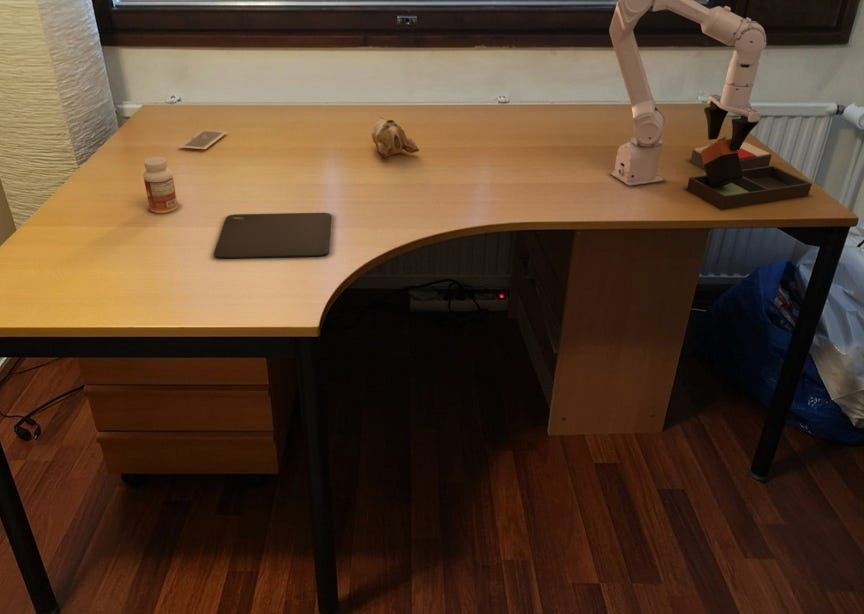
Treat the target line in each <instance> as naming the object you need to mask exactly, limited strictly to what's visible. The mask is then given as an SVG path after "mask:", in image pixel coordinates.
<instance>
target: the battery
mask: <svg viewBox="0 0 864 614" xmlns="http://www.w3.org/2000/svg"><path fill="white" fill-rule="evenodd" d="M731 139H732V138H729V139H727V136H721V137H718V138H717V139H715V140H716V141H715V142H713V143H709V144H708V145H707V146H708V147H707V148H705V149H703V150H702V151H701V155H702V159H703V163H704V167H705V169H704V170H705V171H704V172H705V175H706V176H707V180H708V184H709V187H710V188H715V187H722V186H725V185H727V184H730V183H732V182H734V181H736V180H738V179H740V178H742V177H743V172H742V168H741V164H740V160H739V156H738V152H737V150H734V151H732V150H730V143H731Z"/></svg>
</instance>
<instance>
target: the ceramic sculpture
mask: <svg viewBox="0 0 864 614" xmlns="http://www.w3.org/2000/svg"><path fill="white" fill-rule="evenodd" d="M371 139H372V140H373V143H374V144H375V146H376V149H377V152H378V154H379V155H380V156H381V157H383V158H386V157H389V156H390V155H395V154H400V153H401V152H402V151H403V150H404V151H405V152H406V153H418V152H420V149H419V148H418V146H417V144H416V141H414V140H413V139H412V138H410V137H407V134H406V133H405V130H404V129H403V128H402V127H401V126H400V125H398V123H397V122H396V121H395V120H393V119H389V120H388V119H386V118H384V117H383V116H380V117H379V120H378V121H376V123H375V125H374V127H373V131H372V133H371Z"/></svg>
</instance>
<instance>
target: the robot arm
mask: <svg viewBox="0 0 864 614" xmlns="http://www.w3.org/2000/svg"><path fill="white" fill-rule="evenodd" d="M651 7H652V9H651V11H652V12H658V11H663V10H668V11H671V12H673V13H675V14H677V15H679V16H681V17H684V18H686V19H688V20H690V21H692V22H695V23H697V24H700V27H701V32H702V33H703V34H704V35H706V36H708V37H710V38H712V39H714V40H716V41H718V42H720V43H722V44H724V45H727V46H733V47H734V49H733V53H732V58H731V59H730V61H729V65H728V69H727V73H726V78H725V82H724V84H723V89H722V93H721V95H718V94H709V95H708V98H707V102H706V104H707V105H709V106H707V107H704V110H703V112H704V114H705V118H706V123H707V140H709V141H711V140H713V141H714V140H717V139H718V138H719V136H720V133H721V130H722V127H723V124H724V121H725V119H726V117H727V115H728V114H729V113H730V114H733V115H736V116H738V118H732V119H731V128H732V131H731V138H730V139H731V143H730V150H732V151H734V150H739V149H740V147H741V145H742V144H743V142H745V140H746V138H747V137H748V135H750V133H751V132H752V130H753V129H754V128H755V127H757V125H758V124H759V119H760V114H761V112H760V111H758V110H756V109H755V108H754V107H753V106H751V105H752V103H751V102H750V98H751V94H752V91H753V86H754V83H755V79H756V76H757V73H758V68H759V64H760V62H759V61H760V59H761V55H762V52H763V51H764V50H765V48H766V46H767V35H766V32H765V29H764V27H763V26H762V25H761V24H759V23H758V22H757V21H755V20H752V19H751V18H750V17H745V18H744V17H742V16H740V15H738V14H736V13H734V12H732V11H731V10H732V9H731V8H732V7H731V6H730V7H729V6H727V5H725V6H720V5H718V6H715V7H711V8H708V7H706V6H704V5H702V4H700V3H699V2H697V1H695V0H617V2H616V6H615V10H614V13H613V17H612V19H611V23H610V26H609V30H608V32H609V36H610V40H611V43H612V46H613V50H614V53H615V56H616V59H617V62H618V66H619V69H620V72H621V76H622V80H623V83H624V86H625V88H626V92H627V96H628V98H629V103H630V105H631V111H632V117H633V122H634V129H633V135H631V138H630V140H629V141H628V142H626V143H624V144H621V145H620V146H619V147H618V149H617V152H616V158H615V163H614V169H613V171H612V172H611V175H612V176H613V177H615V178H616V179H618V180H619V181H621V182H622V183H624V184H626V185H627V186H630V187H633V186H639V185H644V184H652V183H659V182H663V181H664V178H662V177H661V176H659V175H657V171H658V166H659V161H660V157H661V152H662V148H663V147H662V146H663V143H664V141H663V139H662V137H663V134H664V125H665V116H664V114H663V112H662V111H661V110H660V109H659V108H658V106H657V103H656V101H655V99H654V97H653V95H652V91H651V87H650V83H649V80H648V78H647V74H646V70H645V68H644V64H643V60H642V57H641V54H640V50H639V47H638V42H637V40H636V36H635V33H634V29H635V27H636V25H637V23H638V22H639V20H640V18H642V17H643V16H644V15H645V14H646V13H647V11H649V9H650V8H651ZM739 117H740V118H739Z"/></svg>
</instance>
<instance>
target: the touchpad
mask: <svg viewBox="0 0 864 614" xmlns="http://www.w3.org/2000/svg"><path fill="white" fill-rule="evenodd" d="M228 132H229V130H218V129H217V130H216V129H204V128H203V129H201V130H200V131H198V132H197V133H195V134H194V135H193V136H191V137H190V138H189V139H187V140H186V141H184V142H183V143H182V144H180V145H179V146H178V148H184V149H185V148H187V149H199V150H206V149H208V148H210V146H212V145H213V144H214V143H216V142H217V141H218V140H219V139H221V138H222V137H223V136H225V135H226V134H227V133H228Z"/></svg>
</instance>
